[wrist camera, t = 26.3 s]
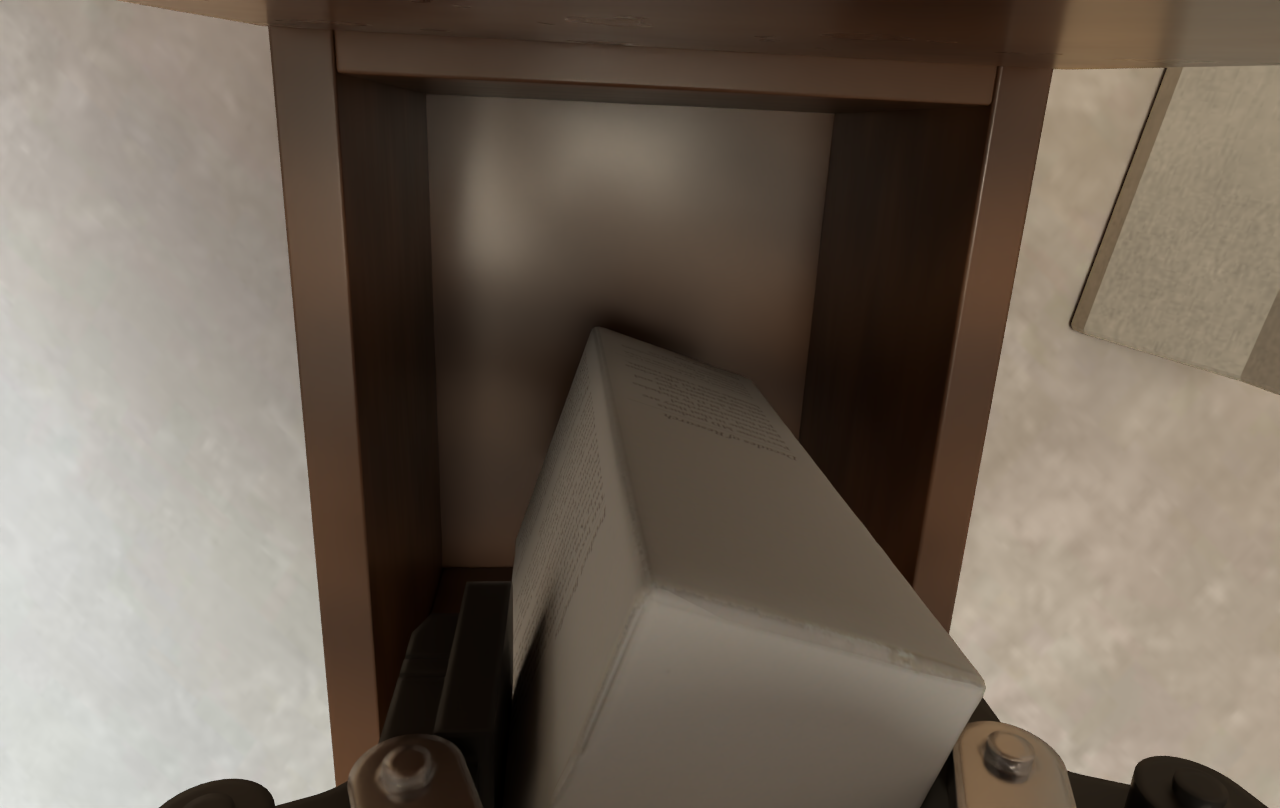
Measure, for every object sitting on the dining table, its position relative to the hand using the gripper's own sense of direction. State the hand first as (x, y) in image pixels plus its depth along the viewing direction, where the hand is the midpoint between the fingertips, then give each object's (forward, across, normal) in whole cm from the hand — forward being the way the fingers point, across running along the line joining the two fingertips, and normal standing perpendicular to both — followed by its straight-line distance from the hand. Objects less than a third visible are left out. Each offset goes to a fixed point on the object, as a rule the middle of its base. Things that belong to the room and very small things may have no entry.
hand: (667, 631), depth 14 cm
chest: (+13, 0, -1) cm, 13 cm away
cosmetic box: (+8, 0, 0) cm, 8 cm away
